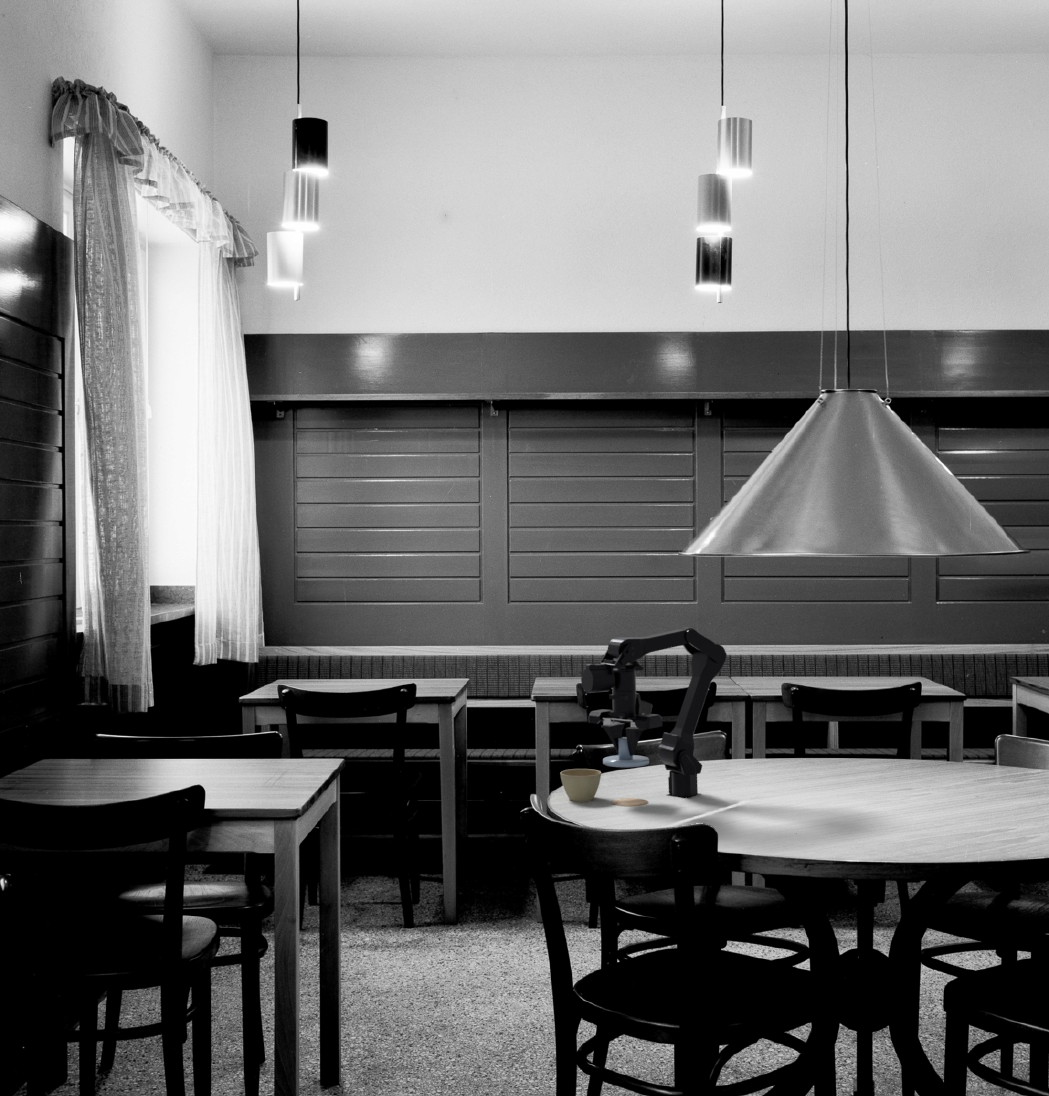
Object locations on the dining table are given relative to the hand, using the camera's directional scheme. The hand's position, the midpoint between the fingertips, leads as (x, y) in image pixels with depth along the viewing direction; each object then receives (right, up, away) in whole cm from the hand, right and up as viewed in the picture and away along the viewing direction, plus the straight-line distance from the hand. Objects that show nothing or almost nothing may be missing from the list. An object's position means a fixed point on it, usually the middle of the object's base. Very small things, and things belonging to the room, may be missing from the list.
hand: (625, 754), depth 276 cm
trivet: (+1, -12, 0) cm, 12 cm away
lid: (0, -2, 0) cm, 2 cm away
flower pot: (-10, -13, +5) cm, 17 cm away
